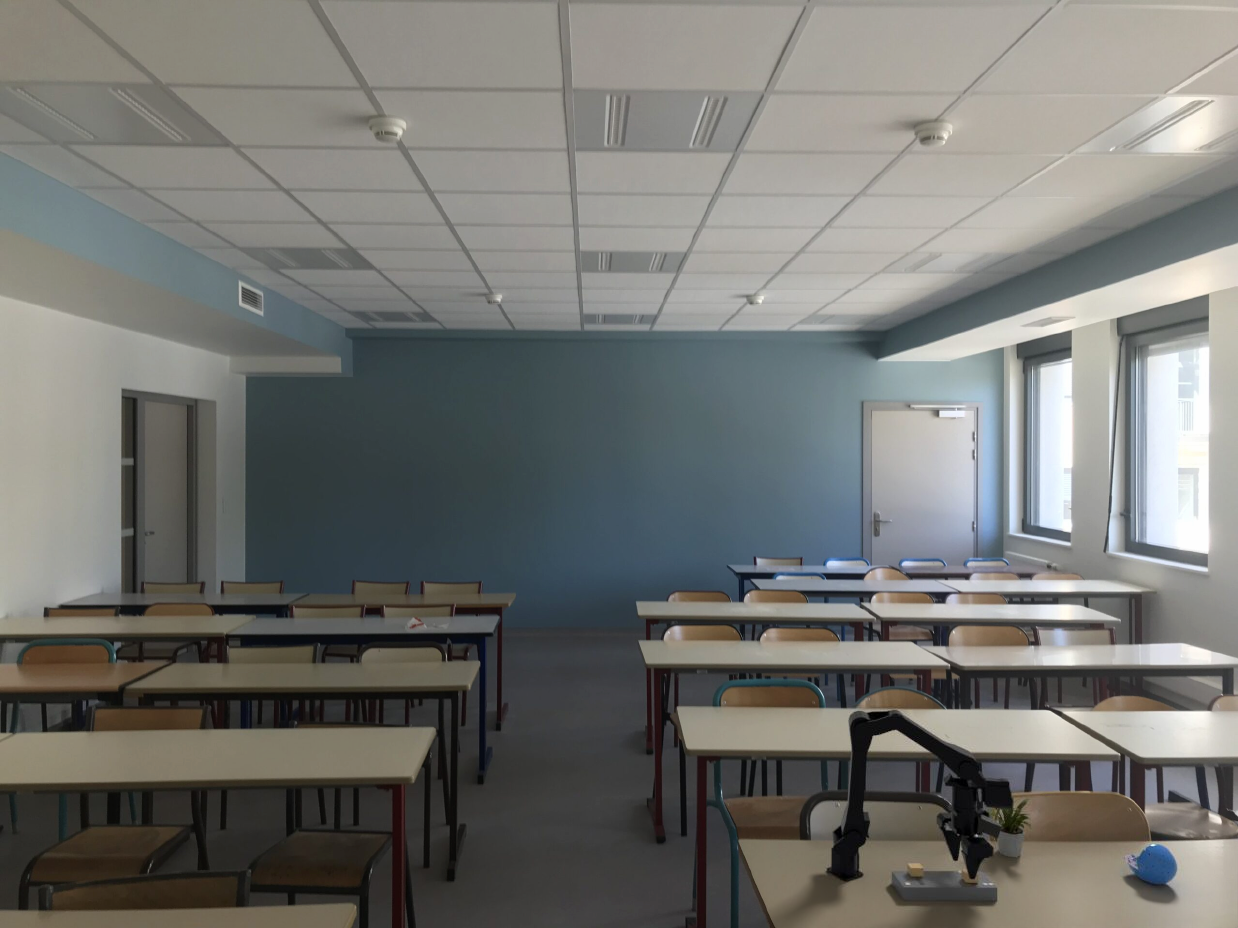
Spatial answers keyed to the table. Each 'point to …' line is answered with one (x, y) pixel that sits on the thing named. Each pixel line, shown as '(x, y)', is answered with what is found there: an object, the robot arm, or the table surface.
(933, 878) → the grey slider switch box
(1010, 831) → the house plant
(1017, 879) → the table surface
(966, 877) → the outlet switch
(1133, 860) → the cell model
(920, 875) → the outlet switch
